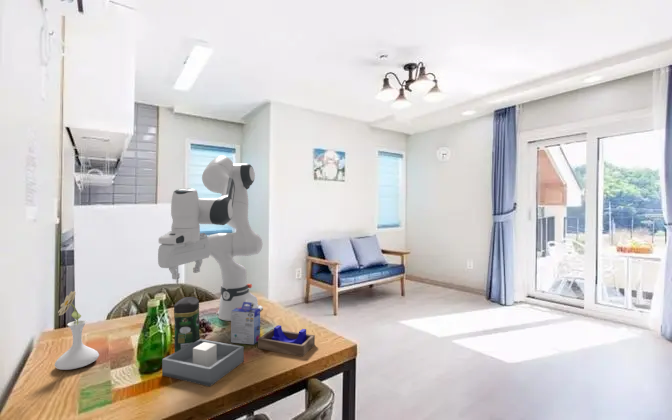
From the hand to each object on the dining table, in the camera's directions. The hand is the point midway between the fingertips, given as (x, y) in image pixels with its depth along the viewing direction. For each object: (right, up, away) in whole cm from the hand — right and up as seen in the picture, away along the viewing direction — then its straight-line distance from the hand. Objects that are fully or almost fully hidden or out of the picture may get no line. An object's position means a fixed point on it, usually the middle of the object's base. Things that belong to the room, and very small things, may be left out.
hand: (186, 275), depth 113 cm
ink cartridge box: (+17, -28, +12) cm, 35 cm away
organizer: (+34, -28, +7) cm, 44 cm away
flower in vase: (-32, -28, -7) cm, 43 cm away
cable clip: (+34, -28, +9) cm, 45 cm away
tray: (+10, -28, -8) cm, 31 cm away
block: (+10, -27, -8) cm, 30 cm away
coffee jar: (-2, -28, +4) cm, 28 cm away
